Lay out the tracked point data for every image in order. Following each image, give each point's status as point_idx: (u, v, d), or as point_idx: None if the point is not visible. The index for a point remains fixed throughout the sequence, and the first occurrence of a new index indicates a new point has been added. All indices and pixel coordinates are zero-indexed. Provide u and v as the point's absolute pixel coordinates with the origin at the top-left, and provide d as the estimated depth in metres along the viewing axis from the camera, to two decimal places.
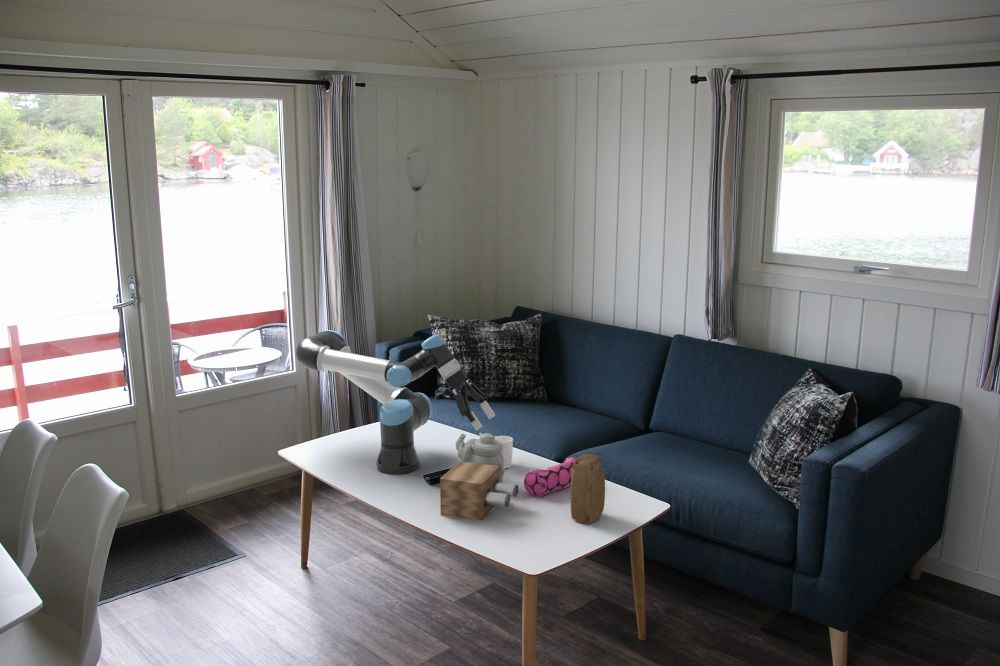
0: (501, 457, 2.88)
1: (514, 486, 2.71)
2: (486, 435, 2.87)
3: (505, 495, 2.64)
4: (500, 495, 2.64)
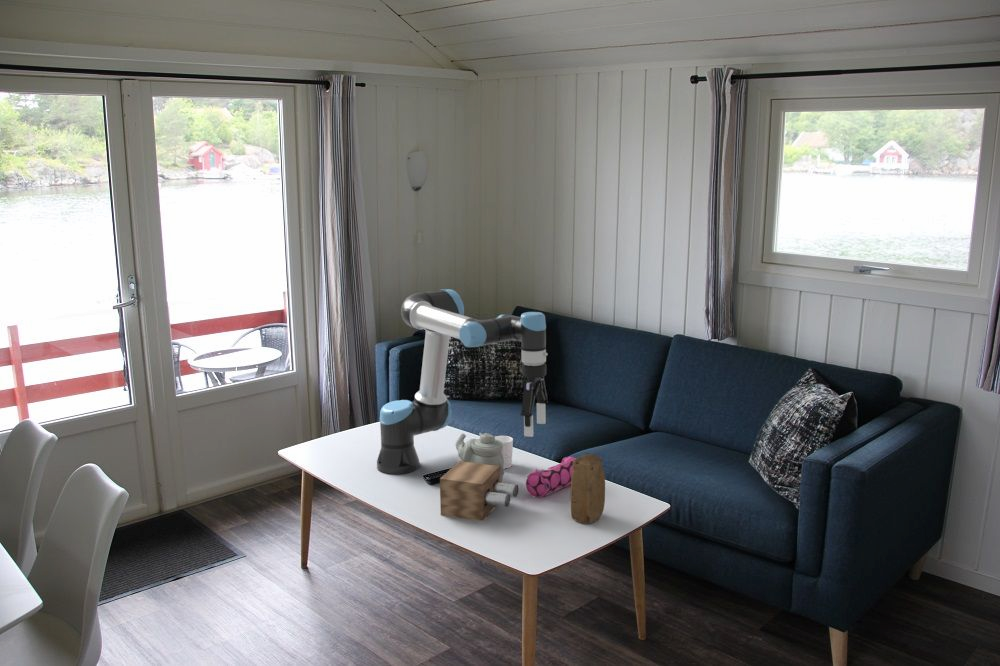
0: (501, 457, 2.88)
1: (514, 486, 2.71)
2: (486, 435, 2.87)
3: (505, 495, 2.64)
4: (500, 495, 2.64)
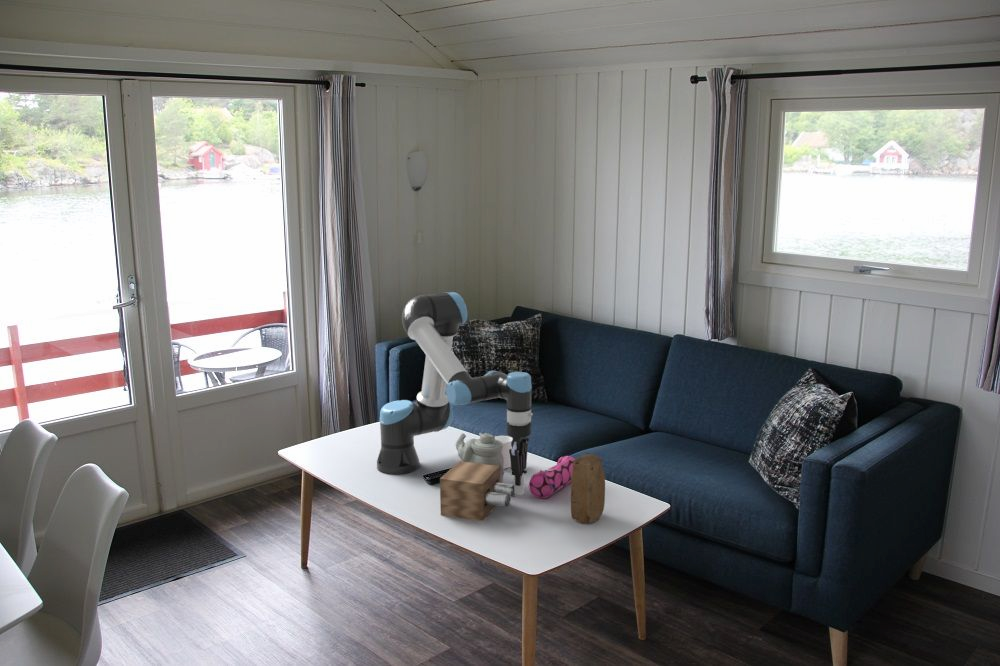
0: (501, 457, 2.88)
1: (512, 486, 2.71)
2: (486, 435, 2.87)
3: (505, 495, 2.64)
4: (500, 495, 2.64)
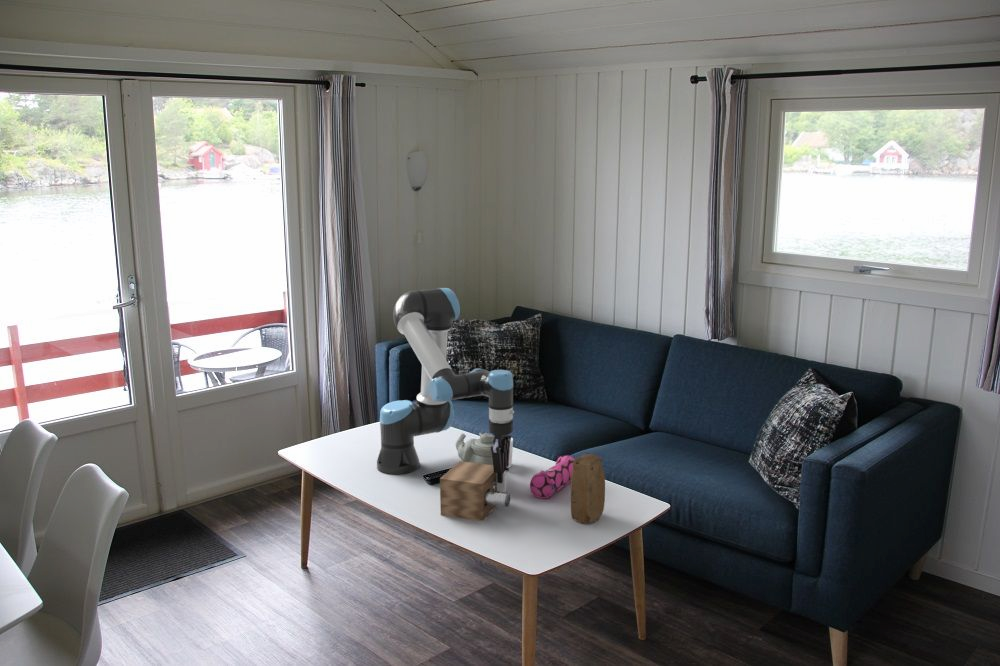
0: None
1: (494, 483, 2.73)
2: (486, 435, 2.87)
3: (505, 495, 2.64)
4: (500, 495, 2.64)
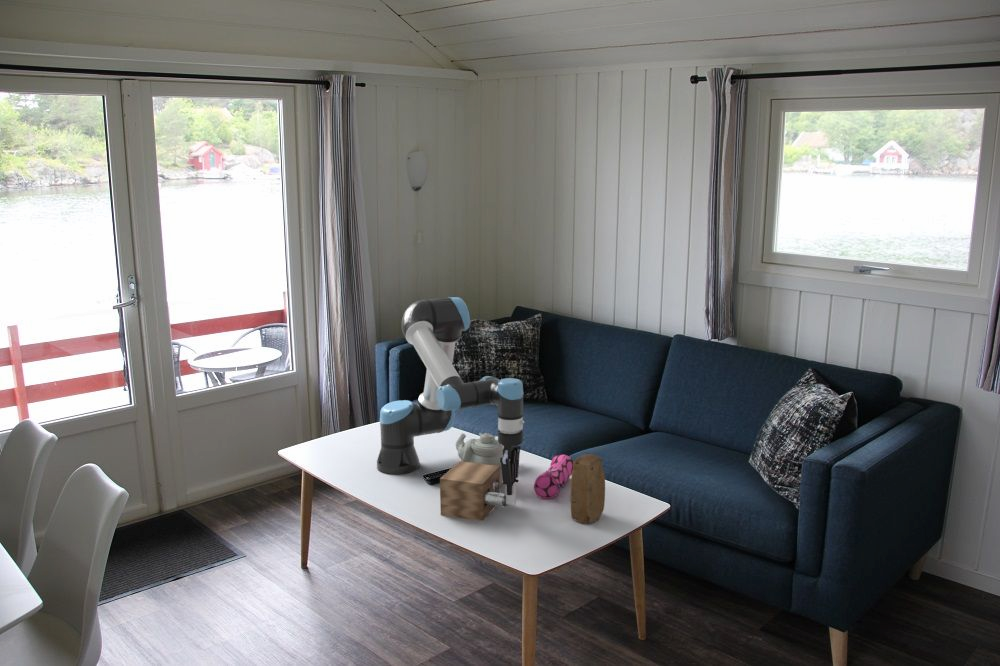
0: (501, 457, 2.88)
1: (494, 483, 2.73)
2: (486, 435, 2.87)
3: (502, 495, 2.64)
4: (497, 495, 2.64)
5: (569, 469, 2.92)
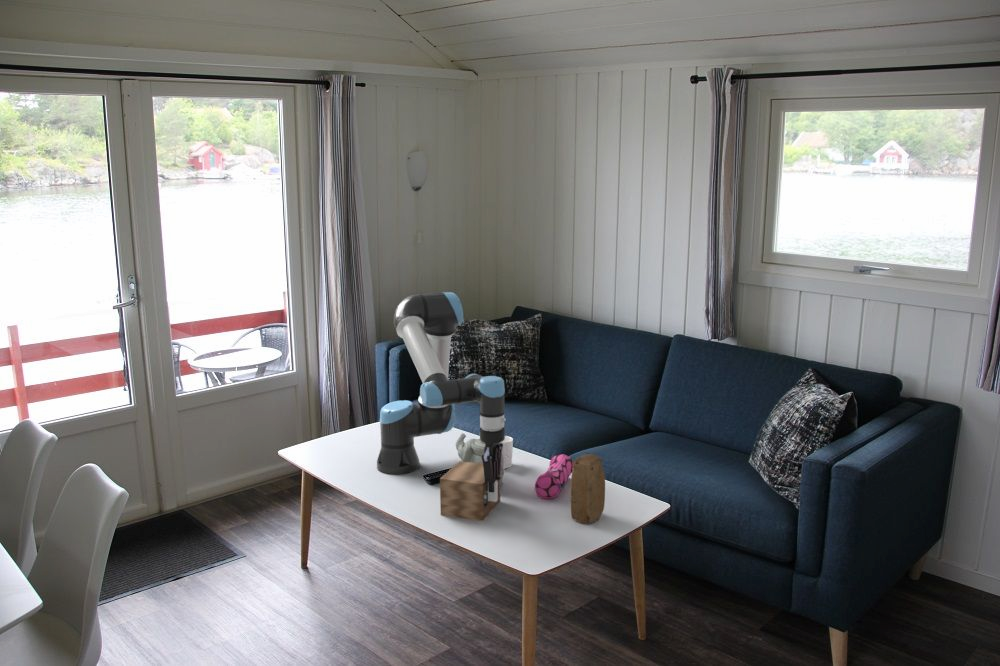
0: (501, 457, 2.88)
1: None
2: None
3: (485, 492, 2.66)
4: None
5: (569, 469, 2.92)
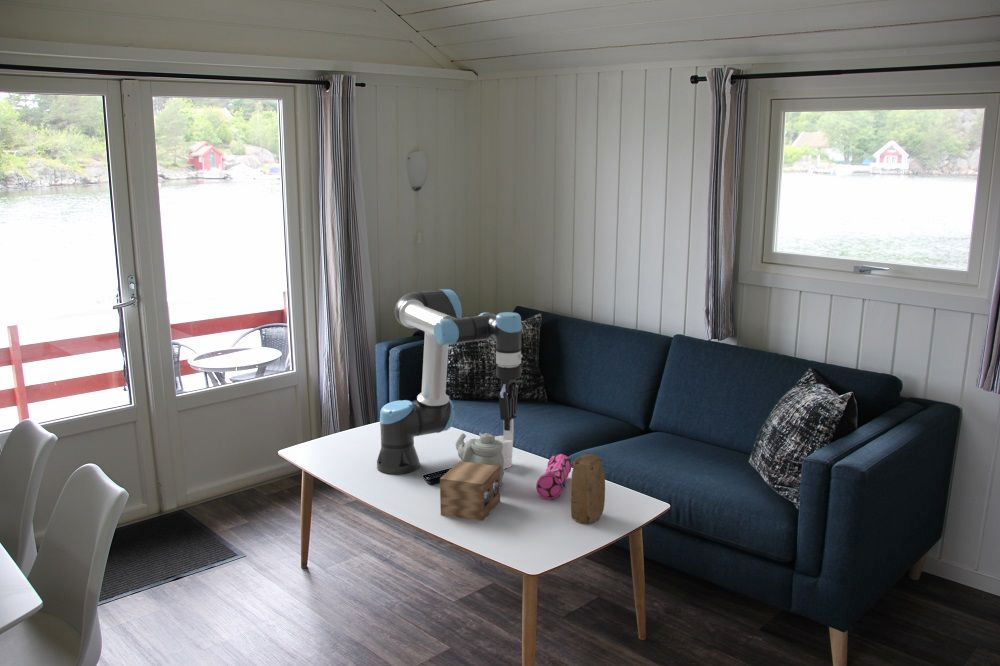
0: (501, 457, 2.88)
1: (494, 483, 2.73)
2: (486, 435, 2.87)
3: (485, 492, 2.66)
4: None
5: (568, 468, 2.92)
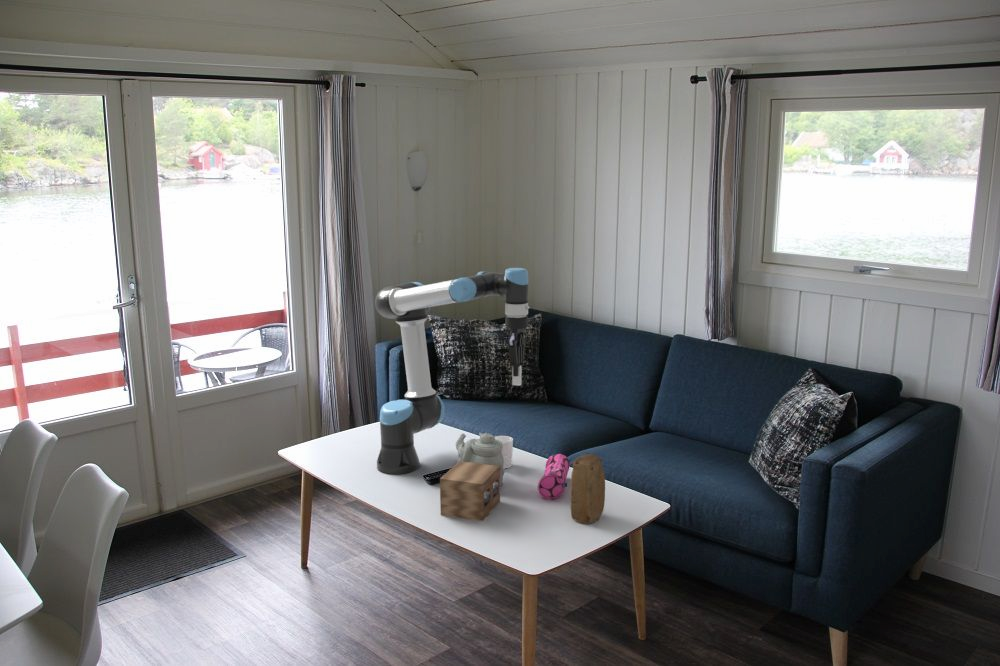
0: (501, 457, 2.88)
1: (494, 483, 2.73)
2: (486, 435, 2.87)
3: (485, 492, 2.66)
4: None
5: (566, 468, 2.93)
